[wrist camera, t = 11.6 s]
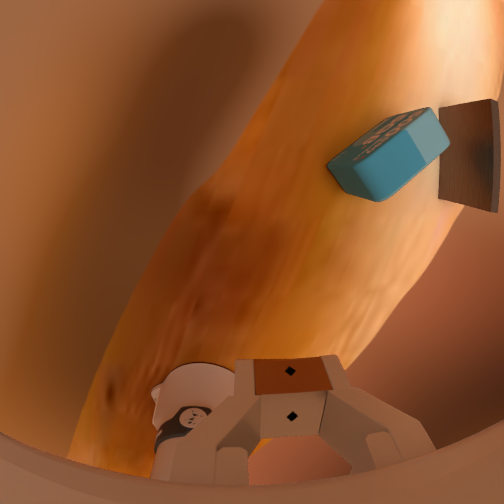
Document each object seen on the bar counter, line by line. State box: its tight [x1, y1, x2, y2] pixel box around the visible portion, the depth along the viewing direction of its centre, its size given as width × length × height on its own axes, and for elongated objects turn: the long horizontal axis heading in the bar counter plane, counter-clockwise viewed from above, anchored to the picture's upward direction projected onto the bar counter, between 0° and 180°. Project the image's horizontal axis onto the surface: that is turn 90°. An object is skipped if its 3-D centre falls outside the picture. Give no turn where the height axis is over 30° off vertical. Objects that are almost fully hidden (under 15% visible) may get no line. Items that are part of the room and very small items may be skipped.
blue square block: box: [327, 107, 450, 202], centre depth 31 cm, size 12×4×12 cm, turn 129°
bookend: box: [438, 99, 501, 213], centre depth 31 cm, size 14×4×12 cm, turn 0°
